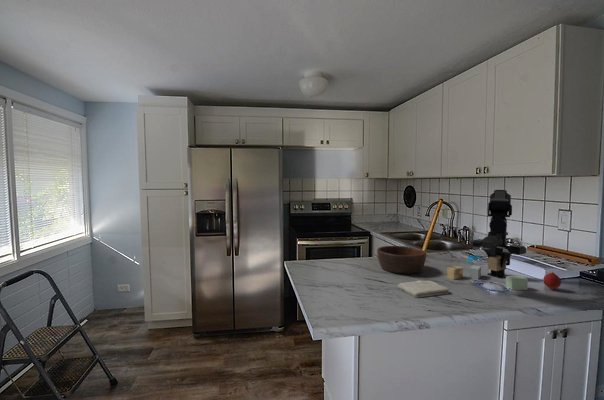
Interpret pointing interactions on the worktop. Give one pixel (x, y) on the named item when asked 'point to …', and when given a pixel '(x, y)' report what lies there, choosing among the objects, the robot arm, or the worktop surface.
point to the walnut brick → (495, 263)
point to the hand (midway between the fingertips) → (496, 266)
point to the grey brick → (475, 272)
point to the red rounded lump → (552, 280)
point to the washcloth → (422, 288)
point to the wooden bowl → (401, 259)
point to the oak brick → (455, 272)
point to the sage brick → (516, 282)
